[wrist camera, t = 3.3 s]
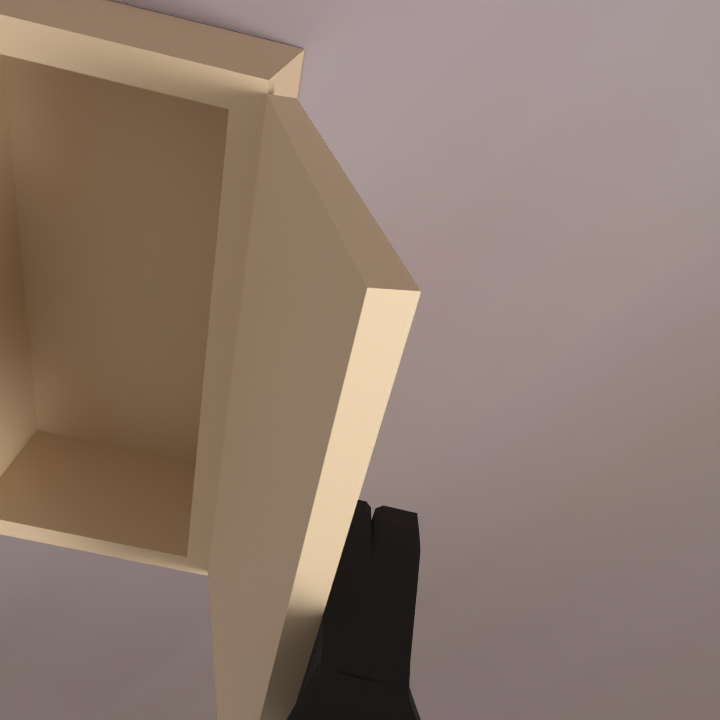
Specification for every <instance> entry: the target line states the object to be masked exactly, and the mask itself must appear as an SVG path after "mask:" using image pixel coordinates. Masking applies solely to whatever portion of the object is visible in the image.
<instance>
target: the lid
mask: <svg viewBox="0 0 720 720" xmlns="http://www.w3.org/2000/svg"><path fill="white" fill-rule="evenodd" d="M420 294H421V290H420V289H419V287H418V286H417V284H416V283H415V281H414V280H413V278H412V277H411V275H410V273H409V272H408V270H407V269H406V267H405V266H404V264H403V263H402V261H401V259H400V258H399V256H398V255H397V253H396V252H395V250H394V249H393V247H392V246H391V244H390V242H389V241H388V239H387V238H386V236H385V235H384V233H383V232H382V230H381V228H380V227H379V225H378V224H377V222H376V221H375V219H374V218H373V216H372V215H371V213H370V211H369V210H368V208H367V207H366V205H365V204H364V202H363V201H362V199H361V197H360V196H359V194H358V193H357V191H356V190H355V188H354V187H353V185H352V184H351V182H350V180H349V179H348V177H347V176H346V174H345V173H344V171H343V170H342V168H341V166H340V165H339V163H338V162H337V160H336V159H335V157H334V156H333V154H332V153H331V151H330V149H329V148H328V146H327V145H326V143H325V142H324V140H323V139H322V137H321V135H320V134H319V132H318V131H317V129H316V128H315V126H314V125H313V123H312V122H311V120H310V118H309V117H308V115H307V114H306V112H305V111H304V109H303V108H302V106H301V105H300V103H299V101H298V100H297V98H291V97H285V96H279V95H273V94H267V98H266V106H265V114H264V122H263V130H262V138H261V146H260V154H259V162H258V170H257V178H256V186H255V194H254V202H253V210H252V218H251V226H250V234H249V242H248V250H247V258H246V266H245V274H244V282H243V290H242V298H241V306H240V314H239V322H238V330H237V338H236V346H235V354H234V362H233V370H232V378H231V386H230V394H229V403H228V411H227V419H226V427H225V435H224V443H223V451H222V459H221V467H220V475H219V483H218V491H217V499H216V507H215V515H214V523H213V531H212V539H211V547H210V555H209V563H208V586H209V600H210V615H211V630H212V644H213V659H214V674H215V688H216V703H217V718H218V720H286V719H287V718H288V716H289V714H290V713H291V711H292V709H293V708H294V706H295V704H296V701H297V698H298V695H299V691H300V688H301V685H302V682H303V678H304V675H305V672H306V669H307V666H308V662H309V659H310V656H311V653H312V649H313V646H314V643H315V640H316V637H317V633H318V630H319V626H320V623H321V620H322V616H323V613H324V610H325V606H326V603H327V600H328V597H329V593H330V590H331V587H332V583H333V580H334V577H335V574H336V570H337V567H338V564H339V560H340V557H341V554H342V551H343V547H344V544H345V541H346V537H347V534H348V531H349V527H350V524H351V521H352V518H353V514H354V511H355V508H356V504H357V501H358V498H359V495H360V491H361V488H362V485H363V481H364V478H365V475H366V471H367V468H368V465H369V462H370V458H371V455H372V452H373V448H374V445H375V442H376V439H377V435H378V432H379V429H380V425H381V422H382V419H383V415H384V412H385V409H386V406H387V402H388V399H389V396H390V392H391V389H392V386H393V383H394V379H395V376H396V373H397V369H398V366H399V363H400V359H401V356H402V353H403V350H404V346H405V343H406V340H407V336H408V333H409V330H410V327H411V323H412V320H413V317H414V313H415V310H416V307H417V303H418V300H419V297H420Z"/></svg>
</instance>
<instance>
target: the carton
mask: <svg viewBox="0 0 720 720" xmlns="http://www.w3.org/2000/svg"><path fill="white" fill-rule="evenodd" d="M304 51H305V49H302V48H298V47H294V46H290V45H286V44H282V43H278V42H274V41H270V40H266V39H262V38H258V37H254V36H250V35H246V34H242V33H238V32H234V31H230V30H226V29H222V28H218V27H214V26H210V25H206V24H202V23H198V22H194V21H190V20H186V19H182V18H178V17H174V16H170V15H166V14H162V13H158V12H154V11H150V10H145V9H141V8H137V7H133V6H129V5H125V4H121V3H117V2H113V1H109V0H0V534H2V535H7V536H12V537H17V538H22V539H27V540H32V541H37V542H42V543H47V544H52V545H57V546H62V547H67V548H72V549H77V550H82V551H87V552H92V553H97V554H102V555H107V556H112V557H117V558H122V559H127V560H132V561H137V562H142V563H147V564H152V565H157V566H162V567H167V568H172V569H177V570H182V571H187V572H192V573H197V574H202V575H207V574H208V563H209V555H210V547H211V539H212V531H213V523H214V515H215V507H216V499H217V491H218V483H219V475H220V467H221V459H222V451H223V443H224V435H225V427H226V419H227V411H228V403H229V394H230V386H231V378H232V370H233V362H234V354H235V346H236V338H237V330H238V322H239V314H240V306H241V298H242V290H243V282H244V274H245V266H246V258H247V250H248V242H249V234H250V226H251V218H252V210H253V202H254V194H255V186H256V178H257V170H258V162H259V154H260V146H261V138H262V130H263V122H264V114H265V106H266V98H267V94H273V95H279V96H285V97H291V98H297V97H298V91H299V84H300V77H301V71H302V64H303V57H304Z"/></svg>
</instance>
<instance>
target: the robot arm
mask: <svg viewBox="0 0 720 720" xmlns="http://www.w3.org/2000/svg"><path fill="white" fill-rule="evenodd" d="M419 560H420V538H419V526H418V517H417V513H413V512H409V511H405V510H400V509H396V508H392V507H387V506H381V507H378V508H376V509H375V512H374V515H373V517H372V520H371V507H370V506H369V505H368V503H367V502H366V501H361V500H358V501H357V504H356V508H355V511H354V514H353V518H352V521H351V524H350V527H349V531H348V534H347V537H346V541H345V544H344V547H343V551H342V554H341V557H340V560H339V564H338V567H337V570H336V574H335V577H334V580H333V583H332V587H331V590H330V593H329V597H328V600H327V603H326V606H325V610H324V613H323V616H322V620H321V623H320V626H319V630H318V633H317V637H316V640H315V643H314V646H313V649H312V653H311V656H310V659H309V662H308V666H307V669H306V672H305V675H304V678H303V682H302V685H301V688H300V691H299V695H298V698H297V701H296V704H295V706H294V708H293V709H292V711H291V713H290V714H289V716H288V718H287V719H286V720H421V719H420V717H419V714H418V711H417V708H416V705H415V702H414V700H413V697H412V694H411V691H410V688H409V678H410V658H411V647H412V637H413V626H414V615H415V605H416V594H417V583H418V572H419Z"/></svg>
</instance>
